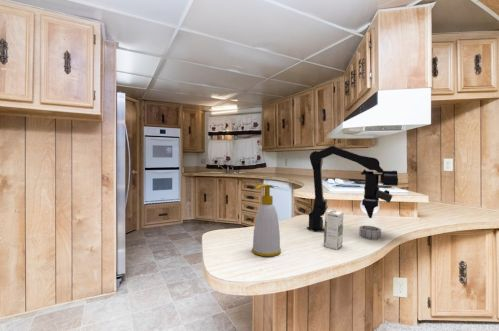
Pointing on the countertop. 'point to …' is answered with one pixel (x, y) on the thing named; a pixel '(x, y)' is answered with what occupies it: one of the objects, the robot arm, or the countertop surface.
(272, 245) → the soap bottle
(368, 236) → the grey ribbed ring
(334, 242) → the syrup box
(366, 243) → the countertop surface
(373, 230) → the cap
